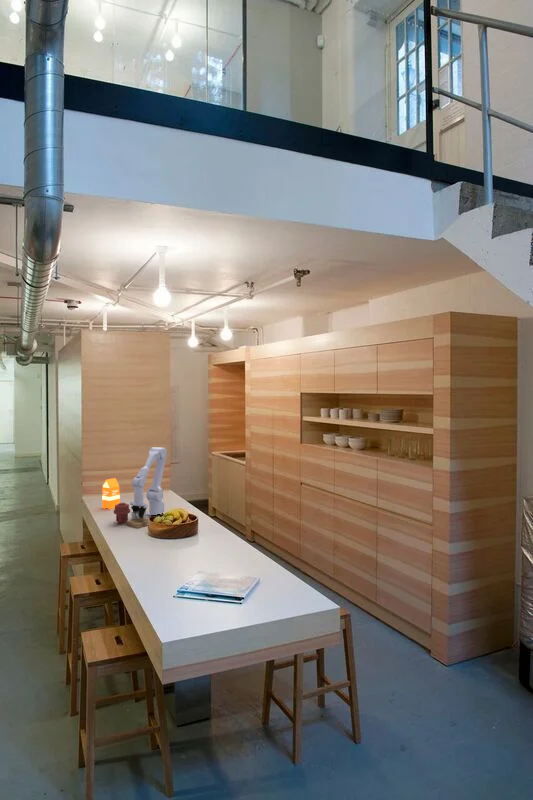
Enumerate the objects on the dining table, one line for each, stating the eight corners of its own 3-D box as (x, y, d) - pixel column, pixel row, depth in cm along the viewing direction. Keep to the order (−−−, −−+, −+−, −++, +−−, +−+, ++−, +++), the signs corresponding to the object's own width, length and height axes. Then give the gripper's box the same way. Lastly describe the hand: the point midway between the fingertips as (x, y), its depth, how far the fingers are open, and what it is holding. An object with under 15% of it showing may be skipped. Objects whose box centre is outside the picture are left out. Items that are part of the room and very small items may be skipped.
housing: (141, 518, 336) (141, 509, 336) (146, 519, 333) (146, 510, 333) (131, 520, 330) (131, 511, 330) (136, 521, 327) (136, 512, 327)
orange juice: (119, 506, 366) (119, 478, 365) (109, 509, 358) (109, 480, 357) (112, 505, 370) (111, 477, 369) (102, 507, 362) (101, 479, 362)
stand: (140, 521, 328) (140, 517, 328) (152, 524, 322) (152, 520, 321) (126, 525, 320) (126, 521, 319) (137, 528, 313) (137, 524, 313)
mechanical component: (117, 520, 330) (132, 521, 329) (111, 525, 320) (126, 525, 319) (117, 501, 329) (132, 501, 328) (110, 505, 319) (126, 505, 318)
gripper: (126, 495, 332) (126, 517, 333) (141, 499, 323) (141, 520, 324) (135, 494, 338) (135, 514, 338) (150, 497, 329) (150, 518, 329)
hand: (138, 517), depth 332 cm, fingers closed on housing, 4 cm apart
